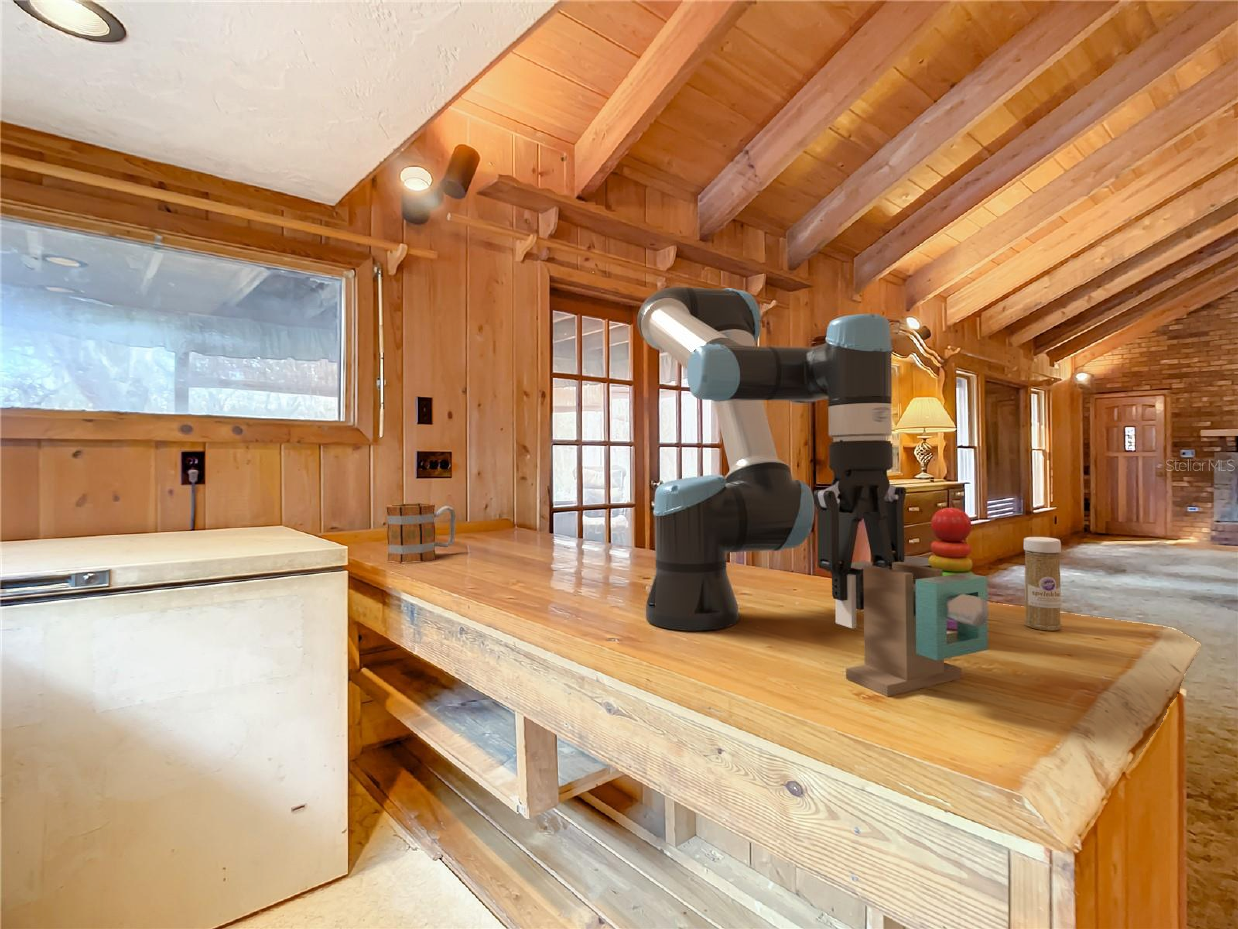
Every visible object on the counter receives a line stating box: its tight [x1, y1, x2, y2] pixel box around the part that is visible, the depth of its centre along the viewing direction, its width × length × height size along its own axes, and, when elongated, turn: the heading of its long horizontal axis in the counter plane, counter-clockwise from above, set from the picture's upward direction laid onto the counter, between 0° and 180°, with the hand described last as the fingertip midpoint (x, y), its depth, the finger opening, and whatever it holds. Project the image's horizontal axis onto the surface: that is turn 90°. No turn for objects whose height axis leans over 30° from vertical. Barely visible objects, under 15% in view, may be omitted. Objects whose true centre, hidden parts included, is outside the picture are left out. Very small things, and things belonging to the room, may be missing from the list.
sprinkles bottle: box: [1023, 536, 1062, 632], centre depth 90 cm, size 5×5×13 cm
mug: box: [386, 502, 456, 562], centre depth 168 cm, size 20×14×15 cm
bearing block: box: [845, 562, 963, 697], centre depth 71 cm, size 6×12×13 cm, turn 114°
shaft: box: [849, 560, 989, 627], centre depth 70 cm, size 18×5×5 cm, turn 24°
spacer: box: [916, 573, 989, 661], centre depth 65 cm, size 2×8×8 cm, turn 114°
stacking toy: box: [929, 507, 974, 634], centre depth 86 cm, size 8×8×19 cm
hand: (862, 621), depth 76 cm, fingers closed on shaft, 5 cm apart
